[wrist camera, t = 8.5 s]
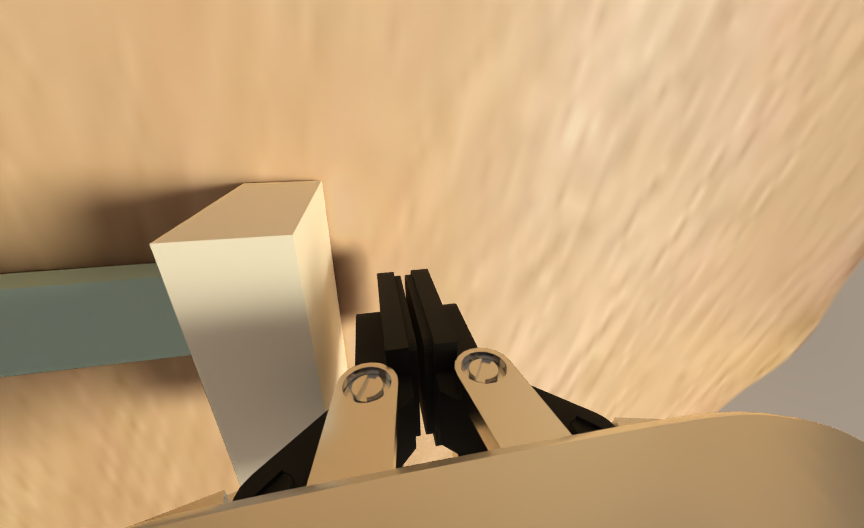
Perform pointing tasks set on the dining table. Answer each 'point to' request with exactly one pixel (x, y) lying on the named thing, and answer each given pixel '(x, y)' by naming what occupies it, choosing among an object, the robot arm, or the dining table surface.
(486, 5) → the dining table surface
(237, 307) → the mint t-bar
